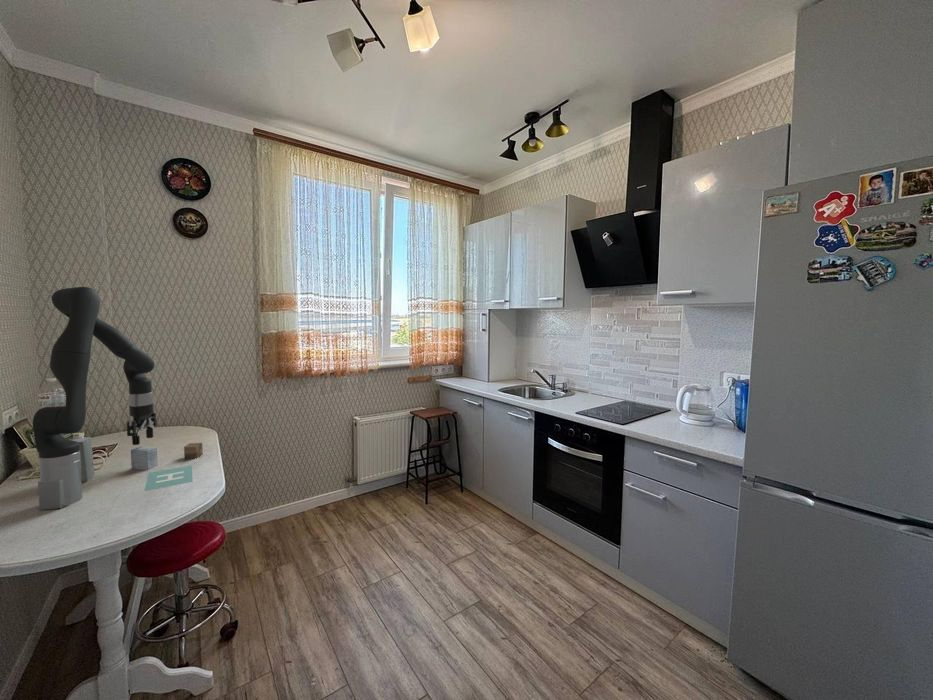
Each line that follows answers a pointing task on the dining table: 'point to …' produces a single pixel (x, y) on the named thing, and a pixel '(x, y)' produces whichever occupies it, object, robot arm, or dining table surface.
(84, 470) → the skincare box
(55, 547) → the dining table surface
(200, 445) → the walnut block
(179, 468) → the letter card
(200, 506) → the dining table surface
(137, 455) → the medicine box
